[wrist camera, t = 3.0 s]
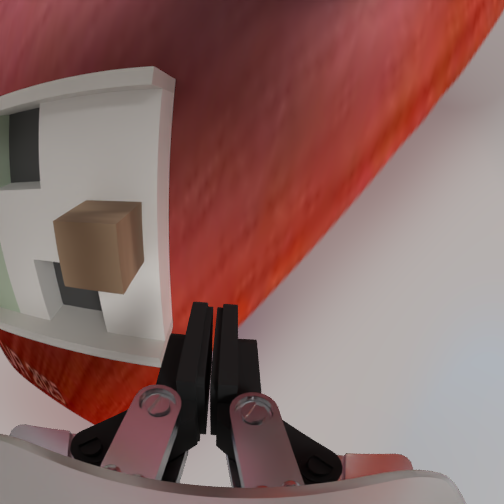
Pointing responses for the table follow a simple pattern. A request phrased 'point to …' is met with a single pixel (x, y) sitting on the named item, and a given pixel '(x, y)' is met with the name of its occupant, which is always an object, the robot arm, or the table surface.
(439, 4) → the table surface
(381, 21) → the table surface
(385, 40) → the table surface
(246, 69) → the table surface
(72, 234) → the walnut block
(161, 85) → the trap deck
